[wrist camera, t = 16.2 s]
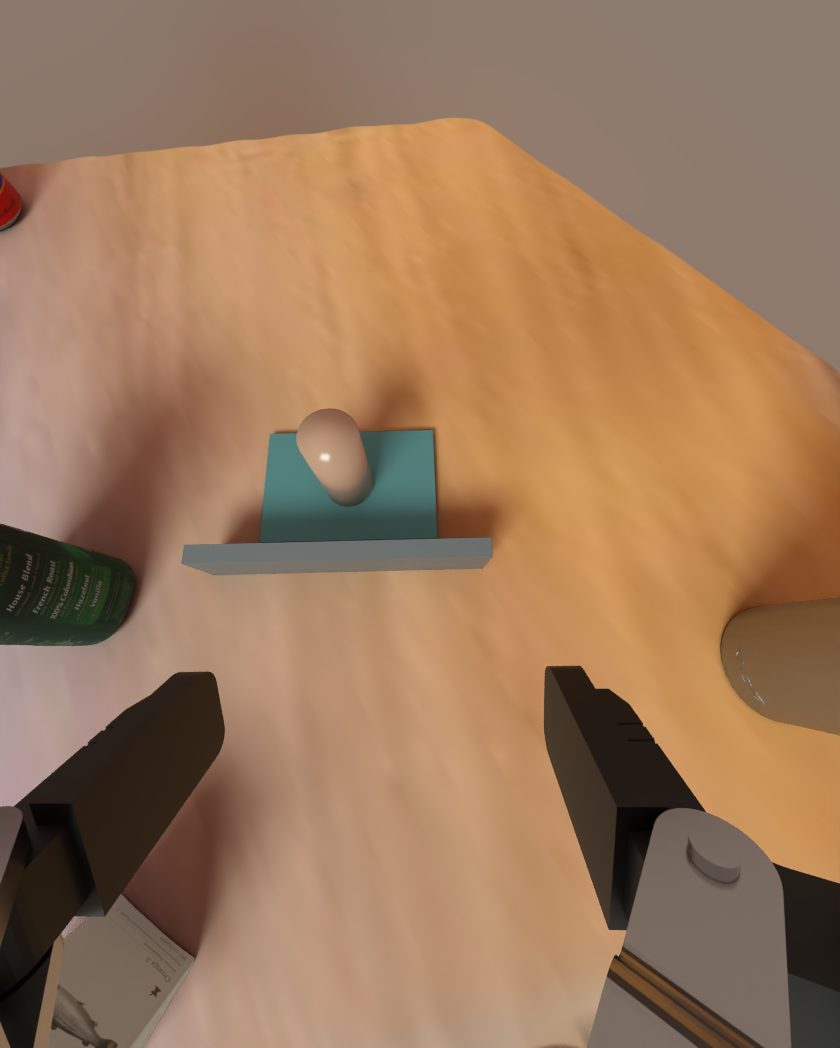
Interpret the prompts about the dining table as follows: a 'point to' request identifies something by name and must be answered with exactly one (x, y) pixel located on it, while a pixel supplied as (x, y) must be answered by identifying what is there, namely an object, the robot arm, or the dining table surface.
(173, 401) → the dining table surface
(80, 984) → the supplement box
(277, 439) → the teal mat
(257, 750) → the dining table surface
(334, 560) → the low wall
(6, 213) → the soda can
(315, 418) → the tan domed capsule
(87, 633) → the coffee jar
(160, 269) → the dining table surface
